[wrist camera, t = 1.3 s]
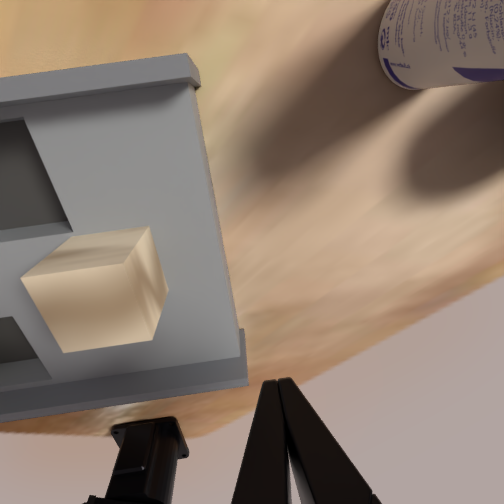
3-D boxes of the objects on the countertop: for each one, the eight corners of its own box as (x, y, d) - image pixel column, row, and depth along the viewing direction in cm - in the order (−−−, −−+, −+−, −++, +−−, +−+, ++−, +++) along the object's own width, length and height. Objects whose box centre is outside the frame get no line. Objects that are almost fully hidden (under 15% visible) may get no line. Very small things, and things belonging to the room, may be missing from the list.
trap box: (244, 335, 25) (248, 385, 20) (-48, 378, 24) (-111, 439, 20) (198, 69, 16) (186, 53, 11) (-264, 131, 15) (-465, 139, 11)
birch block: (168, 290, 18) (152, 340, 14) (99, 300, 18) (63, 353, 14) (149, 225, 16) (123, 263, 12) (71, 236, 16) (19, 277, 12)
